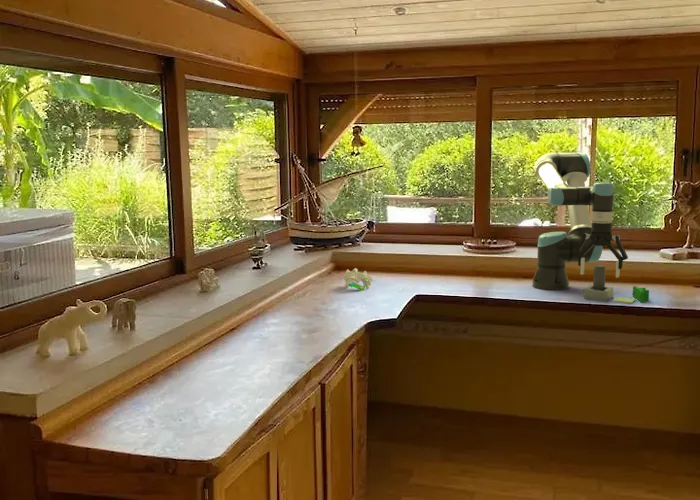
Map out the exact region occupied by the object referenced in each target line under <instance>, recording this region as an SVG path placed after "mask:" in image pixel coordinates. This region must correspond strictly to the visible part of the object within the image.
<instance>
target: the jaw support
mask: <svg viewBox="0 0 700 500" xmlns="http://www.w3.org/2000/svg"><path fill="white" fill-rule="evenodd" d="M358 270H359V269H358V268H357V267H354V268H353V269H352V270H351V271H350V270H349V269H348V268H347V269H346V271H345V273H344V275H343V279H344V281H345V283H344V289H345V290H347V288H349V287H351V288H356V289H358V290H360V291H361V290H362V291H364V290H365V288H366V290H368V289H369V288H370V286H371V285H372V282H373V278H372V276H370V275H369V274H368V272H367V270H364V271H363V272H360V271H358ZM360 281H361V282H362V284H363V285H362V284H359V283H360Z"/></svg>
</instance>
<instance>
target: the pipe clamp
mask: <svg viewBox="0 0 700 500" xmlns="http://www.w3.org/2000/svg"><path fill="white" fill-rule="evenodd" d="M649 296H650V289H649V290H648V289H646V287H638V286H637V285H635V286H634V285H633V286H632V298H633V299H637V300H636V301H638V302H639V303H640V304H644V303H645V302H649V298H650V297H649Z"/></svg>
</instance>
